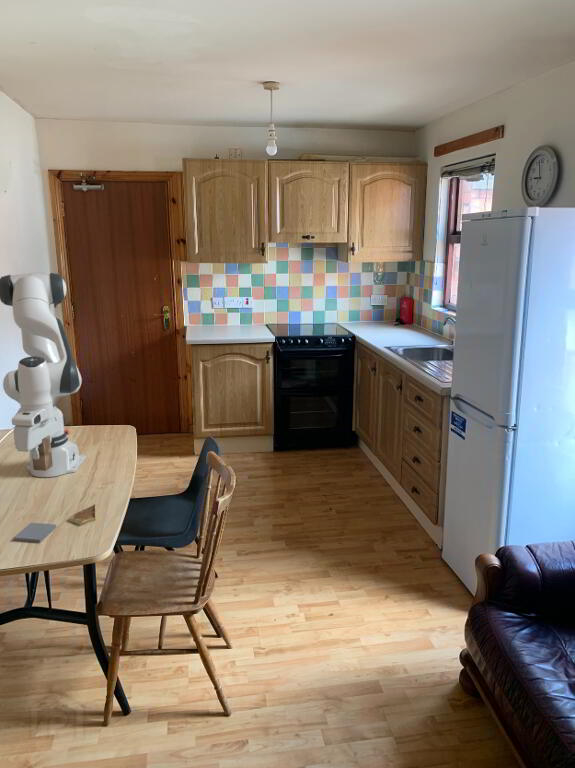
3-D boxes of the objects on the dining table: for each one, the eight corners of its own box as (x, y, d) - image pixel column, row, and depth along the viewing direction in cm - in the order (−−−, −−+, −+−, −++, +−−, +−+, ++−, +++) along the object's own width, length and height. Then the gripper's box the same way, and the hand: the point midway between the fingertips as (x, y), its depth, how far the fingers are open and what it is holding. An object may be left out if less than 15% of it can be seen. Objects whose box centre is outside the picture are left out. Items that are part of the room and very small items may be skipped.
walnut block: (40, 465, 181) (37, 434, 179) (52, 465, 180) (49, 435, 178) (33, 470, 177) (30, 438, 175) (46, 470, 177) (42, 439, 174)
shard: (95, 508, 188) (94, 503, 187) (112, 513, 184) (111, 508, 183) (67, 522, 179) (66, 516, 178) (84, 528, 175) (84, 522, 174)
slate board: (30, 522, 175) (13, 537, 166) (56, 524, 174) (39, 539, 165) (31, 527, 175) (14, 542, 167) (56, 529, 174) (40, 544, 166)
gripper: (45, 401, 185) (49, 443, 188) (7, 421, 165) (13, 467, 168) (64, 402, 184) (68, 444, 187) (28, 422, 164) (33, 468, 168)
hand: (41, 455), depth 178 cm, fingers closed on walnut block, 4 cm apart
